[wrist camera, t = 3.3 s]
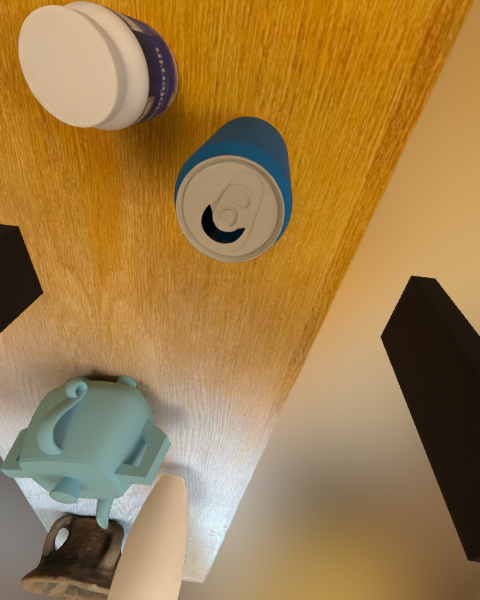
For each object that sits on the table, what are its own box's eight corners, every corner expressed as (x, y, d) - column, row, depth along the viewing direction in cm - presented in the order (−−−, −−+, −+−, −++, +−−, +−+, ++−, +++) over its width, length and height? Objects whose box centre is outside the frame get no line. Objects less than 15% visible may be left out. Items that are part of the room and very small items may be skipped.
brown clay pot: (149, 547, 95) (130, 615, 83) (64, 531, 94) (33, 598, 82) (149, 517, 79) (126, 596, 67) (47, 498, 78) (5, 575, 66)
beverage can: (196, 171, 26) (147, 228, 17) (236, 95, 23) (205, 112, 13) (257, 214, 28) (246, 288, 18) (304, 149, 24) (321, 200, 15)
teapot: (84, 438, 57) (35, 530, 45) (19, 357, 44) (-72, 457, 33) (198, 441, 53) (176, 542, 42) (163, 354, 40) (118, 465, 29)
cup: (140, 457, 59) (83, 615, 42) (177, 445, 55) (131, 615, 37) (177, 480, 64) (139, 631, 46) (214, 470, 59) (188, 633, 42)
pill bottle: (172, 129, 24) (120, 156, 16) (101, 101, 24) (11, 115, 16) (188, 40, 21) (132, 20, 13) (105, 5, 20) (-6, -40, 12)
